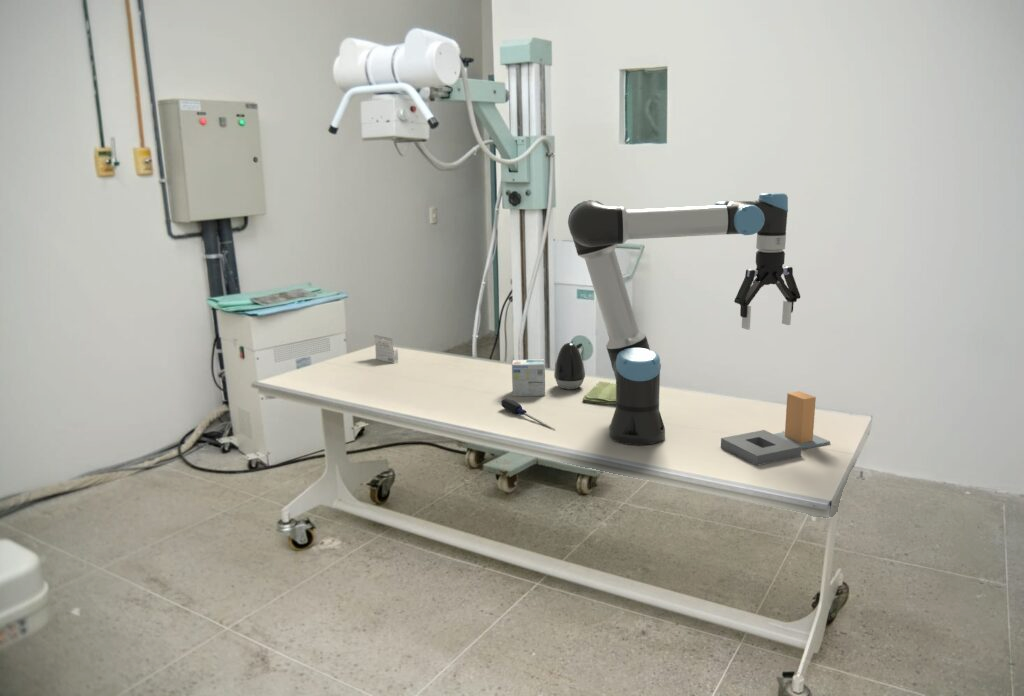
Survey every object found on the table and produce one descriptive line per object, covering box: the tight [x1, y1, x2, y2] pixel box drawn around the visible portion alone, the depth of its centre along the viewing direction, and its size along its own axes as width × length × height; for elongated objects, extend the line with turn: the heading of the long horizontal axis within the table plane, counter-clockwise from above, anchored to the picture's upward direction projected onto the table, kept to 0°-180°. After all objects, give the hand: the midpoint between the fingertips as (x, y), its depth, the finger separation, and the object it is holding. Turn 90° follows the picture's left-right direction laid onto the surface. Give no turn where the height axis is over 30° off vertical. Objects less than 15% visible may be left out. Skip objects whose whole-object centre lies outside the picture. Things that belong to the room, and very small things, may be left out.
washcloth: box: [582, 381, 616, 406], centre depth 251 cm, size 13×18×3 cm
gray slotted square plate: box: [720, 429, 802, 466], centre depth 203 cm, size 14×14×2 cm
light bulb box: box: [511, 358, 546, 397], centre depth 256 cm, size 11×7×11 cm, turn 88°
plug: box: [784, 390, 817, 443], centre depth 209 cm, size 4×6×12 cm, turn 23°
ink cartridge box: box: [373, 334, 399, 364], centre depth 302 cm, size 2×11×10 cm, turn 48°
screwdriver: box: [500, 398, 555, 430], centre depth 232 cm, size 26×4×4 cm, turn 35°
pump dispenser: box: [553, 342, 586, 390], centre depth 261 cm, size 10×10×15 cm
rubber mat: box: [773, 431, 831, 450], centre depth 210 cm, size 11×11×1 cm
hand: (766, 326), depth 221 cm, fingers open, 13 cm apart
